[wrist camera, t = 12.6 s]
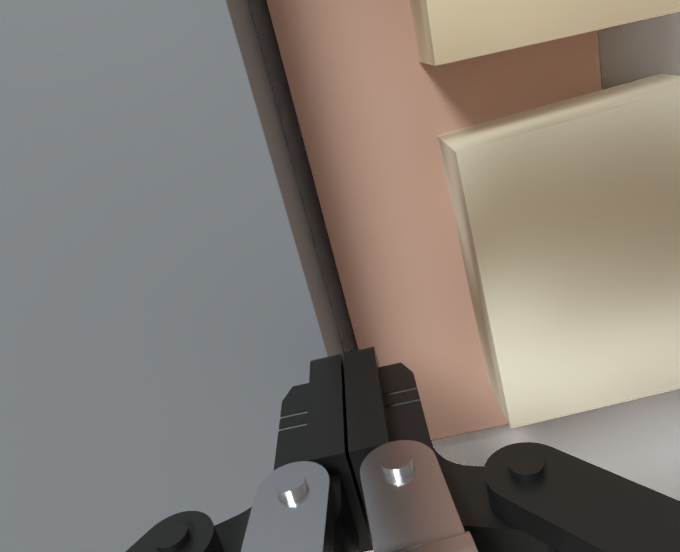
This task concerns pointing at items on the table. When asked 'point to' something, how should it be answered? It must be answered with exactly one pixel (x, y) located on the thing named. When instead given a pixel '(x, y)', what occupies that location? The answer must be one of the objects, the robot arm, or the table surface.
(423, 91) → the rubber mat
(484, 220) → the birch tile
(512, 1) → the oak tile
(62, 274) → the slate board
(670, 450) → the table surface
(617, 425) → the table surface
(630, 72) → the table surface
